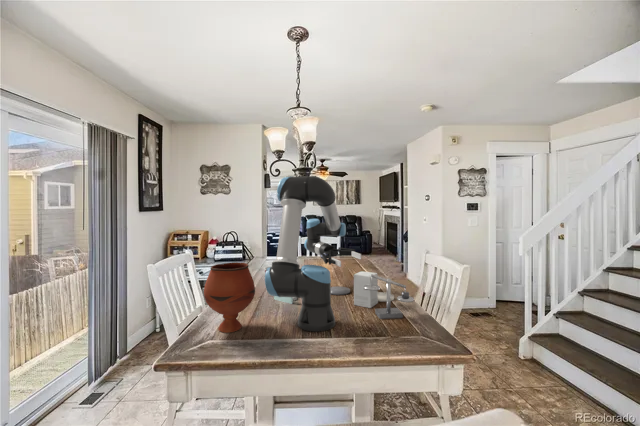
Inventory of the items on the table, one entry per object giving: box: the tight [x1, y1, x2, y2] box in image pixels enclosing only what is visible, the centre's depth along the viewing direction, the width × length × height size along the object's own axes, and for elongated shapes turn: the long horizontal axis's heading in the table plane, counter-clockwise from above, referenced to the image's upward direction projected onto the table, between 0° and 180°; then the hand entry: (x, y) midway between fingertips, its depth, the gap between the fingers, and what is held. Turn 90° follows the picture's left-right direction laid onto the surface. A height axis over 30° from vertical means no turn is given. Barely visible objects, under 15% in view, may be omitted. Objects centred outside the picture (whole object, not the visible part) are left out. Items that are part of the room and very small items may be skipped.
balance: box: [363, 274, 415, 320], centre depth 133 cm, size 22×7×18 cm, turn 96°
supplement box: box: [353, 270, 379, 309], centre depth 148 cm, size 9×9×15 cm
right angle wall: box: [273, 296, 298, 305], centre depth 158 cm, size 12×12×8 cm
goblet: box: [203, 262, 256, 334], centre depth 120 cm, size 19×19×25 cm
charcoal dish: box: [331, 285, 351, 296], centre depth 169 cm, size 13×13×1 cm
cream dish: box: [378, 291, 395, 303], centre depth 157 cm, size 13×13×1 cm
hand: (351, 260), depth 152 cm, fingers open, 13 cm apart
